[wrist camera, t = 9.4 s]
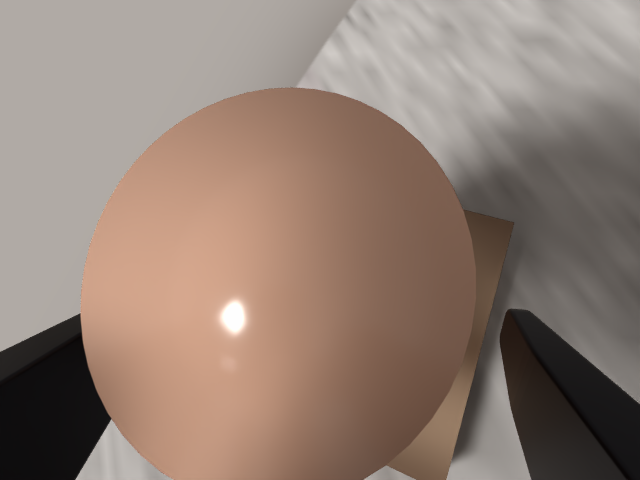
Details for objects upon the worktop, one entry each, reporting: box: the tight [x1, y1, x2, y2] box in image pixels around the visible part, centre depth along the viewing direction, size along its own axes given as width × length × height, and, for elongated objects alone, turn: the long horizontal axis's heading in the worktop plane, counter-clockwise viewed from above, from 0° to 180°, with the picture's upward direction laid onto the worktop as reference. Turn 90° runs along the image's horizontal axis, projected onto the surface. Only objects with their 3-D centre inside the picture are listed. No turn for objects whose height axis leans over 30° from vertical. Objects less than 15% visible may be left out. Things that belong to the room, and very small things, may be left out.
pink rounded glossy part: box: [81, 88, 476, 480], centre depth 11 cm, size 6×6×12 cm
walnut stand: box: [387, 210, 514, 480], centre depth 17 cm, size 12×12×2 cm
